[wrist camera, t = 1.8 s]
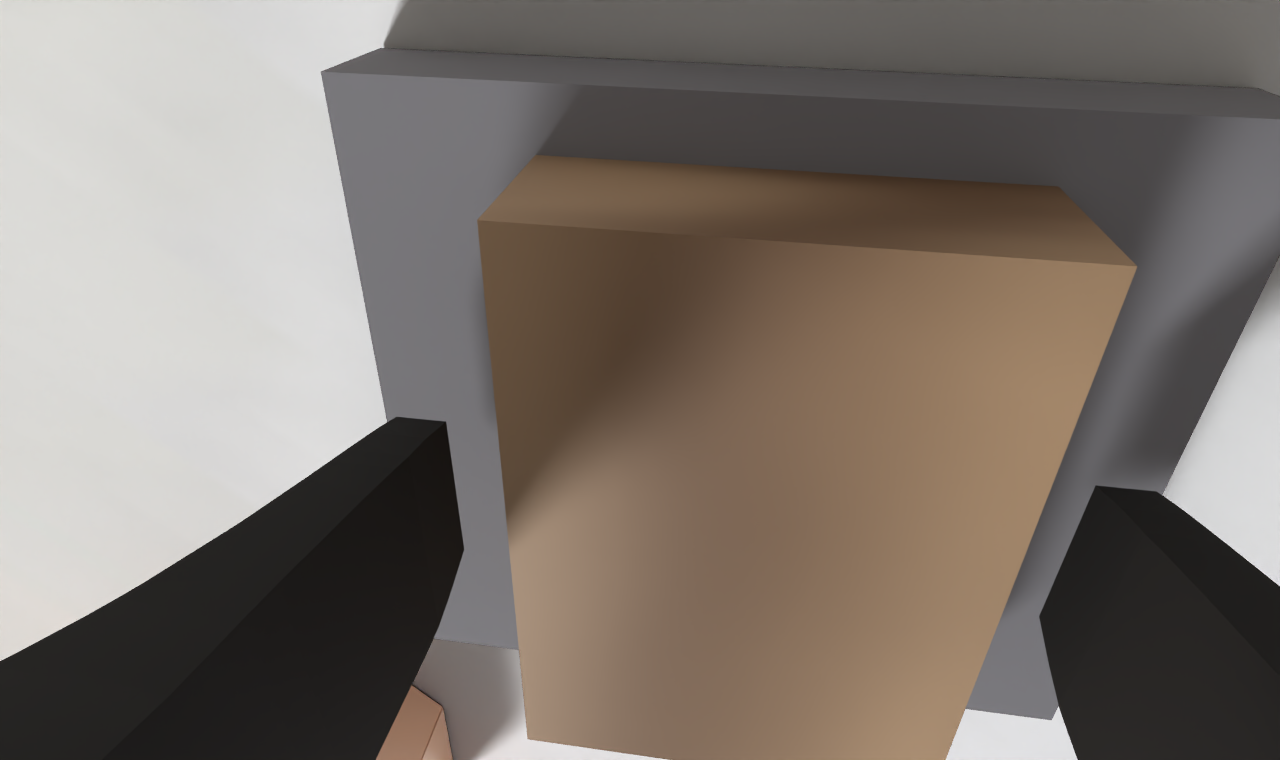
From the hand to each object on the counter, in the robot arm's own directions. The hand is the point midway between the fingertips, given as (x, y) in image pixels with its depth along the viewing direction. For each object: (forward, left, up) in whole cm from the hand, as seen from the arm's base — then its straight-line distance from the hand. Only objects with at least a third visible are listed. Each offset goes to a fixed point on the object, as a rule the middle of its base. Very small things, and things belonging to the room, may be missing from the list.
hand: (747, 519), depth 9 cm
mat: (0, 0, -3) cm, 3 cm away
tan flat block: (0, 0, -1) cm, 1 cm away
